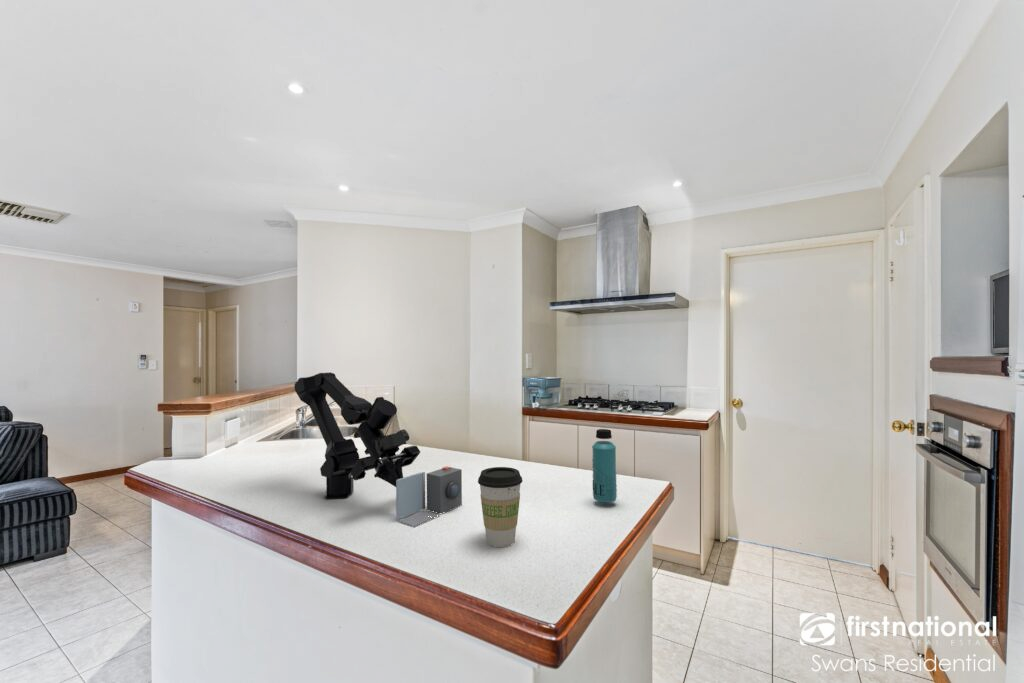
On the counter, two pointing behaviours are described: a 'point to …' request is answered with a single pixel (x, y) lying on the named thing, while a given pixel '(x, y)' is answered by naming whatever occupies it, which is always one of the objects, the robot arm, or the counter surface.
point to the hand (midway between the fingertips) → (402, 488)
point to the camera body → (439, 494)
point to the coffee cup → (500, 504)
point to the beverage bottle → (604, 468)
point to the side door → (410, 494)
